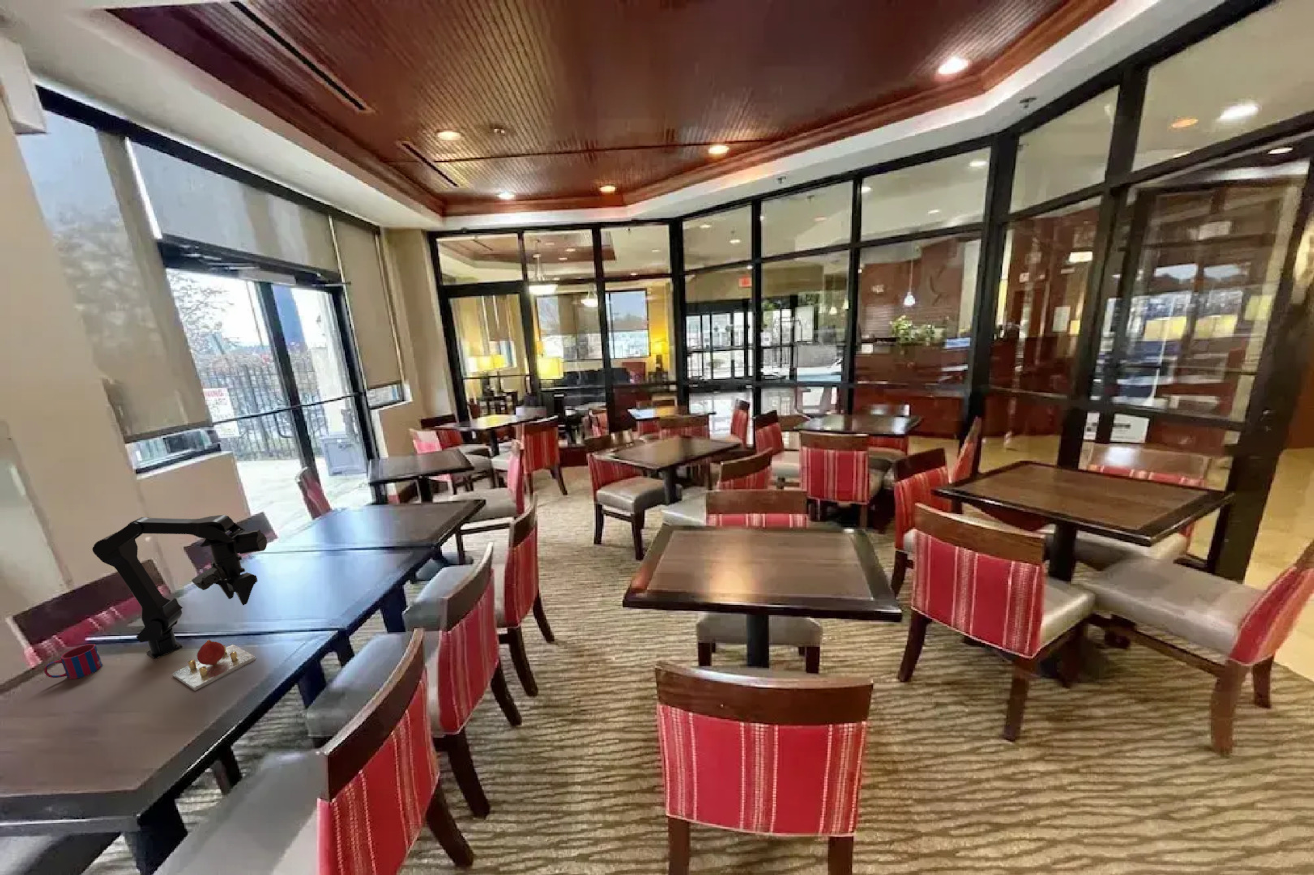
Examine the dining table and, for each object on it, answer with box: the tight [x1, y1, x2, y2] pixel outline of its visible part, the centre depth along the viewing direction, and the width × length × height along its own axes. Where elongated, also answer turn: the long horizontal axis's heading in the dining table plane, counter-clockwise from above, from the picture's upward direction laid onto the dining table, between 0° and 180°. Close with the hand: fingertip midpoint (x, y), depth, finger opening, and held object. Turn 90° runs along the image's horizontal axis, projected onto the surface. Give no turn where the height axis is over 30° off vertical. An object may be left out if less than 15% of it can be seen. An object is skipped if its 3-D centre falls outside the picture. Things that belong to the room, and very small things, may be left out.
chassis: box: [172, 644, 257, 692], centre depth 138 cm, size 14×14×4 cm
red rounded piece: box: [196, 639, 225, 665], centre depth 138 cm, size 6×6×8 cm
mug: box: [43, 643, 103, 680], centre depth 138 cm, size 7×10×7 cm
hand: (237, 601), depth 151 cm, fingers open, 9 cm apart
